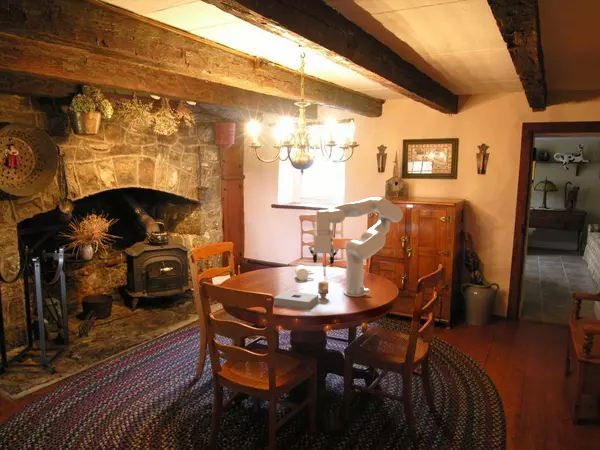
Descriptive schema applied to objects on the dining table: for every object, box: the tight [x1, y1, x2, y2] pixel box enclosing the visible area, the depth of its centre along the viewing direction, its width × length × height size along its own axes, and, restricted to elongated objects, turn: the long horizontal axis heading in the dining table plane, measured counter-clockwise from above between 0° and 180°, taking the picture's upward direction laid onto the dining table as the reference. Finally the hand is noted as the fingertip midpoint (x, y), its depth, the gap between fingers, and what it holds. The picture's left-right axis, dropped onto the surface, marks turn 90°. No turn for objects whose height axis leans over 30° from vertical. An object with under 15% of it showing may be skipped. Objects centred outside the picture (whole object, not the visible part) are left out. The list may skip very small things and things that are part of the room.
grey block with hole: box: [273, 290, 319, 311], centre depth 234 cm, size 20×14×4 cm
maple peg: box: [317, 280, 329, 300], centre depth 243 cm, size 6×6×9 cm
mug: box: [294, 264, 315, 281], centre depth 287 cm, size 12×10×8 cm
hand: (323, 262), depth 242 cm, fingers open, 9 cm apart
